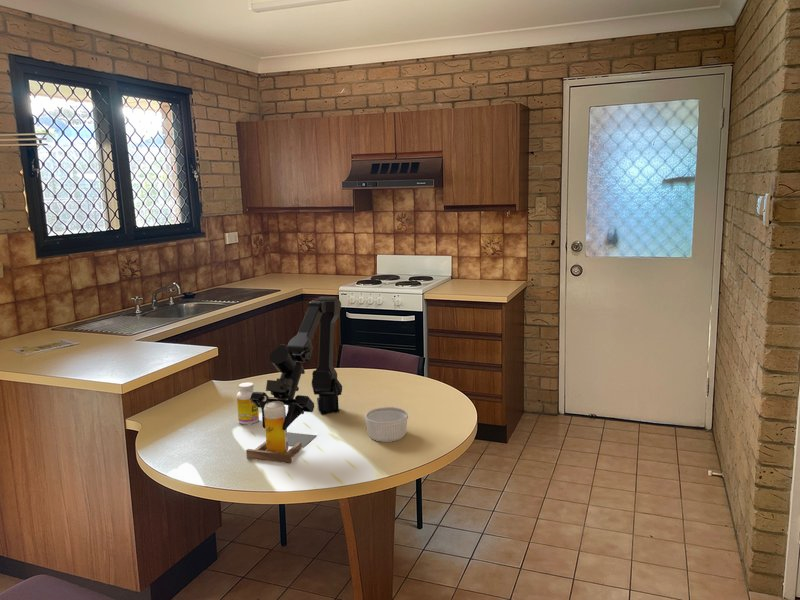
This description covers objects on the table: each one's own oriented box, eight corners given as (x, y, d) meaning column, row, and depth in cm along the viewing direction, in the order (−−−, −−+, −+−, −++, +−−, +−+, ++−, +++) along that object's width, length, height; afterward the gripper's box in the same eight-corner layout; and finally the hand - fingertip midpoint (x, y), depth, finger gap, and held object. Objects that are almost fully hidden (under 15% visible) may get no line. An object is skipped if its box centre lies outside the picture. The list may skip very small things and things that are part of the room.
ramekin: (376, 447, 187) (375, 425, 186) (358, 432, 198) (357, 411, 197) (416, 438, 193) (415, 416, 192) (396, 424, 204) (395, 403, 203)
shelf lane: (264, 444, 192) (264, 436, 191) (306, 449, 187) (305, 441, 187) (246, 458, 182) (246, 450, 182) (290, 463, 178) (289, 455, 177)
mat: (285, 432, 200) (285, 431, 200) (316, 435, 197) (316, 435, 197) (270, 443, 192) (270, 443, 192) (303, 447, 189) (303, 446, 189)
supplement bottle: (254, 425, 207) (251, 388, 205) (235, 424, 208) (232, 387, 206) (262, 418, 214) (259, 381, 211) (244, 417, 215) (241, 381, 213)
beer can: (268, 449, 188) (264, 401, 185) (289, 448, 188) (285, 400, 186) (266, 458, 182) (262, 408, 179) (287, 456, 182) (283, 407, 180)
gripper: (250, 365, 187) (232, 414, 179) (307, 369, 181) (291, 419, 173) (266, 383, 196) (249, 430, 188) (321, 387, 190) (306, 436, 182)
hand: (273, 428), depth 182 cm, fingers closed on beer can, 6 cm apart
